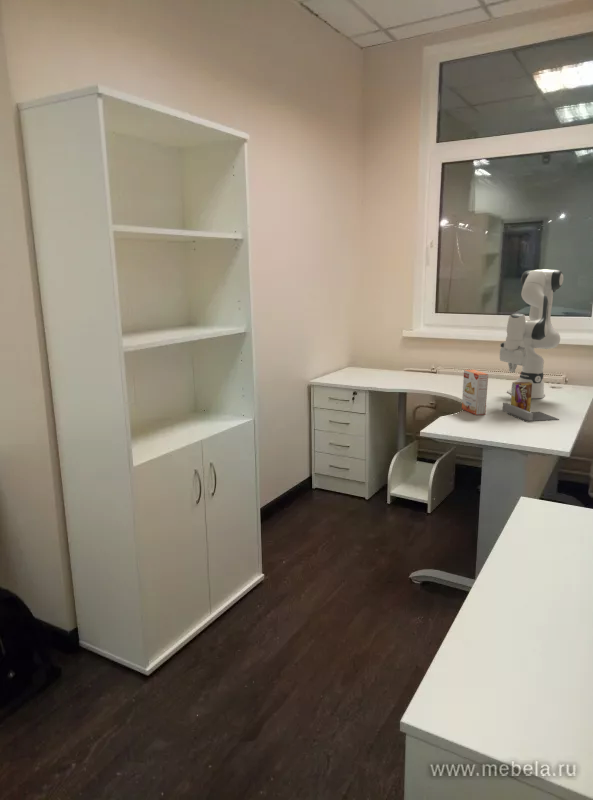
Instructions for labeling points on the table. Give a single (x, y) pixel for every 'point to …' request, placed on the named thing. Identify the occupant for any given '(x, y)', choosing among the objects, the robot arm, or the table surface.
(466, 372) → the cracker box
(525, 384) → the candy box
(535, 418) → the mat with rail
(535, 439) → the table surface
